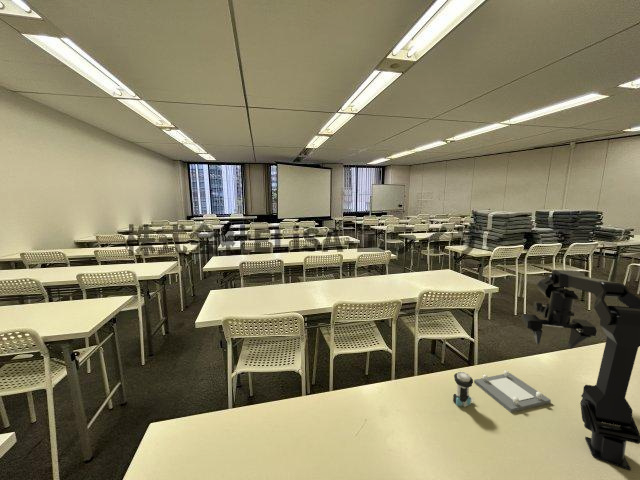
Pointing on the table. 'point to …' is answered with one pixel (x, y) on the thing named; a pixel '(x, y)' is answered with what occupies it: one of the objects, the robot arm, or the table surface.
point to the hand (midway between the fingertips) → (553, 345)
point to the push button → (462, 389)
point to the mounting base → (511, 392)
